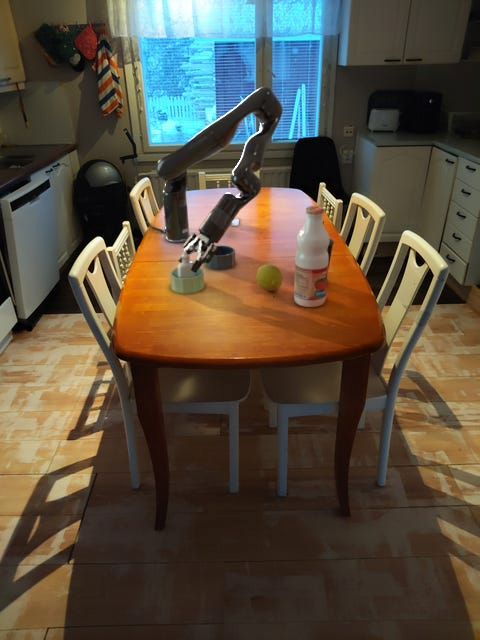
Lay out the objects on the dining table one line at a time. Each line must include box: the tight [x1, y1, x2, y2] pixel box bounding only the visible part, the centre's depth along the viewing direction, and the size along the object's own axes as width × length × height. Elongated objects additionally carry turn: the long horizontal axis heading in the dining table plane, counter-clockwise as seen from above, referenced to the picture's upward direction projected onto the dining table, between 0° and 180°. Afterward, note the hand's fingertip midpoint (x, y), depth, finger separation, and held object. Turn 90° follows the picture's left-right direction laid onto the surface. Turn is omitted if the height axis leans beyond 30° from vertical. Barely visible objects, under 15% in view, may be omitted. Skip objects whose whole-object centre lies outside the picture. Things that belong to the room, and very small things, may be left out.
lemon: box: [256, 263, 283, 292], centre depth 144 cm, size 11×8×8 cm
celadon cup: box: [169, 267, 205, 295], centre depth 147 cm, size 10×10×5 cm
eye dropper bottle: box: [177, 250, 196, 279], centre depth 145 cm, size 4×6×12 cm
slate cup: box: [205, 245, 236, 271], centre depth 163 cm, size 10×10×5 cm
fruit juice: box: [293, 205, 331, 308], centre depth 131 cm, size 9×9×28 cm
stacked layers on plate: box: [230, 218, 240, 227], centre depth 206 cm, size 10×9×6 cm
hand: (186, 266), depth 145 cm, fingers open, 8 cm apart
